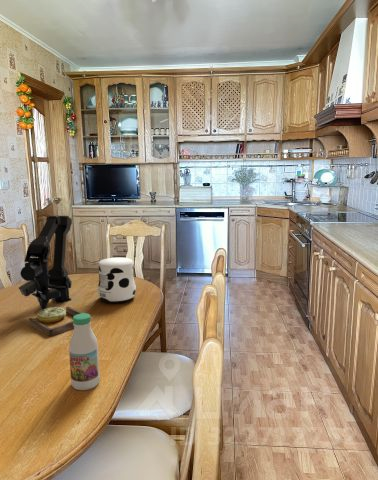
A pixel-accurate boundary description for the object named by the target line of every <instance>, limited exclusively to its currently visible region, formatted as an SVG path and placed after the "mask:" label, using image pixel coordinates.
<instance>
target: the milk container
mask: <svg viewBox="0 0 378 480" xmlns="http://www.w3.org/2000/svg"><path fill="white" fill-rule="evenodd" d="M98 278H99V279H98V285H97V294H98V298H99V300H101V301H103V302H106V303H115V304H116V303H122V302H127V301H130V300H132V299H133V298H134V297H135V295H136V292H137V290H136V289H137V287H136V282H135V280H134V279H135V278H134V262H133V259H131V258H128V257H108V258H103V259H101V260H99V261H98Z"/></svg>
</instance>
